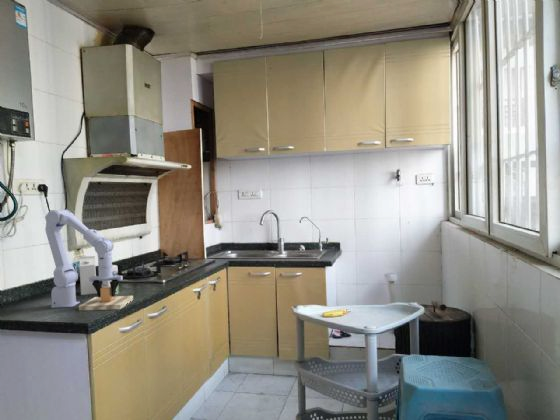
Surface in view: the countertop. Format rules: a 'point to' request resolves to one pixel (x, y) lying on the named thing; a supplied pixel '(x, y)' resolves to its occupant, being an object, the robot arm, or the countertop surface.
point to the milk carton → (87, 274)
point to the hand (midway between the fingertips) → (106, 296)
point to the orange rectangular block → (106, 294)
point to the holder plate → (105, 303)
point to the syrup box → (107, 283)
